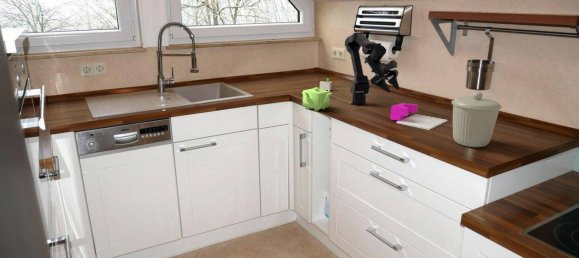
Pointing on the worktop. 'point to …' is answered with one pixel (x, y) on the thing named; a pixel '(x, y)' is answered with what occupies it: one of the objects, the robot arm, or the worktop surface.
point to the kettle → (316, 99)
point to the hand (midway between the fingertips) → (394, 90)
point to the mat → (422, 121)
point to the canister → (474, 120)
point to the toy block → (402, 110)
